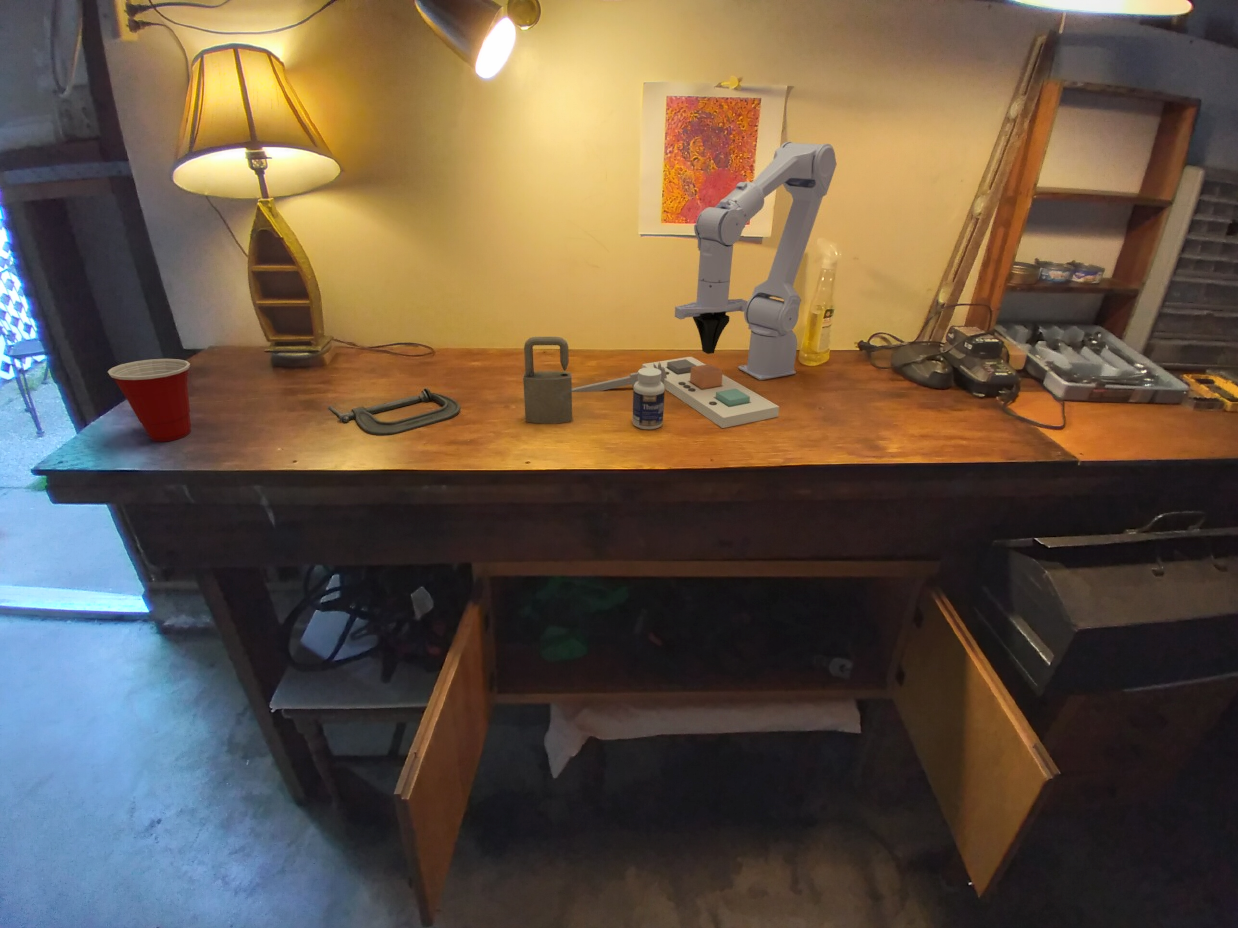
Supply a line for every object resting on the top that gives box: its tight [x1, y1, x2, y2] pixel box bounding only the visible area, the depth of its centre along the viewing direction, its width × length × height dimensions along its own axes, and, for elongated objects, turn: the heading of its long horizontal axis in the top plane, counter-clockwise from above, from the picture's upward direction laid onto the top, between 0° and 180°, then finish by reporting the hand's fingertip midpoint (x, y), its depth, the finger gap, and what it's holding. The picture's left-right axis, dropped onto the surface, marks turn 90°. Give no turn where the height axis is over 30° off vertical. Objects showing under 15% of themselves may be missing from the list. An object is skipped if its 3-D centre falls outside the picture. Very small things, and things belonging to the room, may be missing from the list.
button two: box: [667, 359, 696, 375], centre depth 135 cm, size 4×4×3 cm
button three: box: [690, 363, 724, 390], centre depth 127 cm, size 4×4×3 cm
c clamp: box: [327, 387, 461, 436], centre depth 118 cm, size 20×17×3 cm
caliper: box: [572, 361, 667, 393], centre depth 129 cm, size 20×1×6 cm, turn 99°
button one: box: [716, 389, 750, 407], centre depth 121 cm, size 4×4×3 cm
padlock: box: [522, 336, 573, 424], centre depth 113 cm, size 4×8×15 cm, turn 93°
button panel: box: [641, 356, 780, 429], centre depth 128 cm, size 12×30×2 cm, turn 26°
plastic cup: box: [107, 358, 192, 443], centre depth 106 cm, size 11×11×12 cm
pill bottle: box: [632, 367, 666, 430], centre depth 113 cm, size 5×5×10 cm
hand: (708, 352), depth 125 cm, fingers closed
